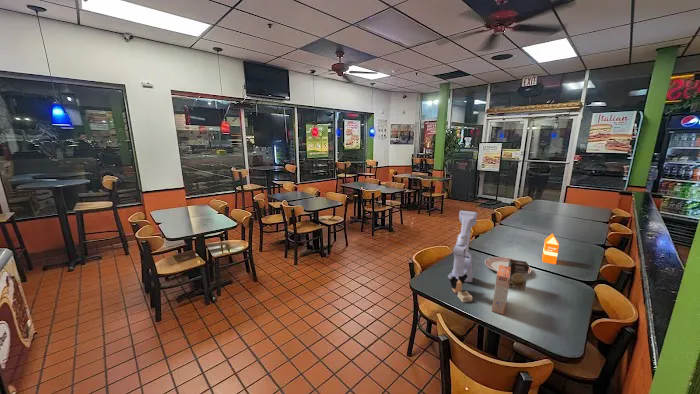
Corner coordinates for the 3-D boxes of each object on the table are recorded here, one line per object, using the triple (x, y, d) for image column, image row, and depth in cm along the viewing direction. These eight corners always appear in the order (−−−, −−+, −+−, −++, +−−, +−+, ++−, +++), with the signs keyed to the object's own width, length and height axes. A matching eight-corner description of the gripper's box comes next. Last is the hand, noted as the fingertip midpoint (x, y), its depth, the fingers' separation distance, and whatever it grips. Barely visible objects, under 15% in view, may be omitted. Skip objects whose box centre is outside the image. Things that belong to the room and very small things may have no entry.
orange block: (458, 288, 158) (459, 279, 157) (461, 292, 155) (462, 283, 153) (451, 289, 158) (452, 279, 157) (454, 292, 154) (455, 283, 153)
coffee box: (507, 288, 159) (511, 263, 155) (505, 282, 165) (508, 258, 161) (525, 291, 156) (529, 265, 152) (522, 285, 162) (526, 261, 158)
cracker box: (504, 315, 134) (509, 278, 130) (491, 311, 138) (495, 274, 133) (506, 301, 146) (511, 266, 141) (494, 298, 149) (498, 263, 144)
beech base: (466, 296, 152) (467, 291, 151) (472, 301, 146) (472, 296, 146) (457, 296, 151) (458, 291, 150) (462, 302, 146) (463, 297, 145)
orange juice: (554, 259, 195) (559, 234, 191) (556, 264, 188) (560, 237, 184) (541, 257, 199) (545, 232, 195) (542, 261, 192) (546, 235, 188)
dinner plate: (486, 275, 175) (486, 270, 174) (482, 258, 200) (483, 253, 199) (535, 283, 165) (536, 278, 164) (525, 264, 189) (526, 259, 189)
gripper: (461, 260, 160) (459, 280, 163) (444, 265, 153) (442, 286, 156) (471, 264, 154) (469, 286, 157) (454, 270, 147) (452, 292, 150)
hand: (457, 286), depth 156 cm, fingers closed on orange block, 5 cm apart
